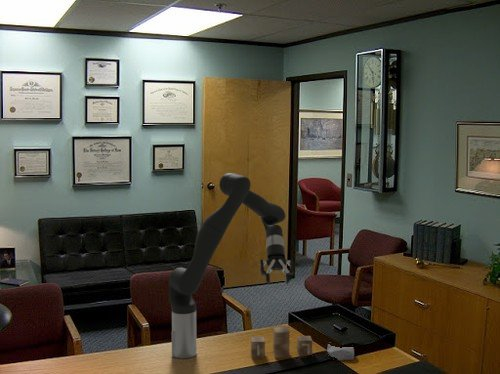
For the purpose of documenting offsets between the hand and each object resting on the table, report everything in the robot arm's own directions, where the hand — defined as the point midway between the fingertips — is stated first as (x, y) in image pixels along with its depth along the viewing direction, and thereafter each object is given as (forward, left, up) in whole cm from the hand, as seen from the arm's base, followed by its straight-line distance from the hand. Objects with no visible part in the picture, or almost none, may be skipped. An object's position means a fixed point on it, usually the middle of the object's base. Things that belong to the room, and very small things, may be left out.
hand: (278, 283), depth 231 cm
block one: (-9, -13, -25) cm, 29 cm away
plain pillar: (0, -13, -25) cm, 28 cm away
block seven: (+9, -13, -25) cm, 29 cm away
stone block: (+23, -13, -25) cm, 36 cm away
